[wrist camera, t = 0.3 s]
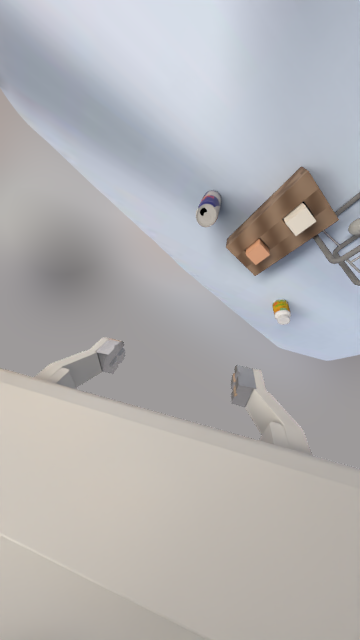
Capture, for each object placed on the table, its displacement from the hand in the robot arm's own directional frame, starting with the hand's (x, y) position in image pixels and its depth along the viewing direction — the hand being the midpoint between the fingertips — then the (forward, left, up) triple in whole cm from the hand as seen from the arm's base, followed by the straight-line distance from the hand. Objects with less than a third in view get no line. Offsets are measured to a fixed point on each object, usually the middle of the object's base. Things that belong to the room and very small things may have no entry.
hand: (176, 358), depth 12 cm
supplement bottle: (+11, +46, -52) cm, 70 cm away
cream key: (-9, +18, -46) cm, 50 cm away
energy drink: (+4, 0, -52) cm, 52 cm away
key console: (-3, +18, -51) cm, 54 cm away
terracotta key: (+2, +18, -46) cm, 50 cm away
